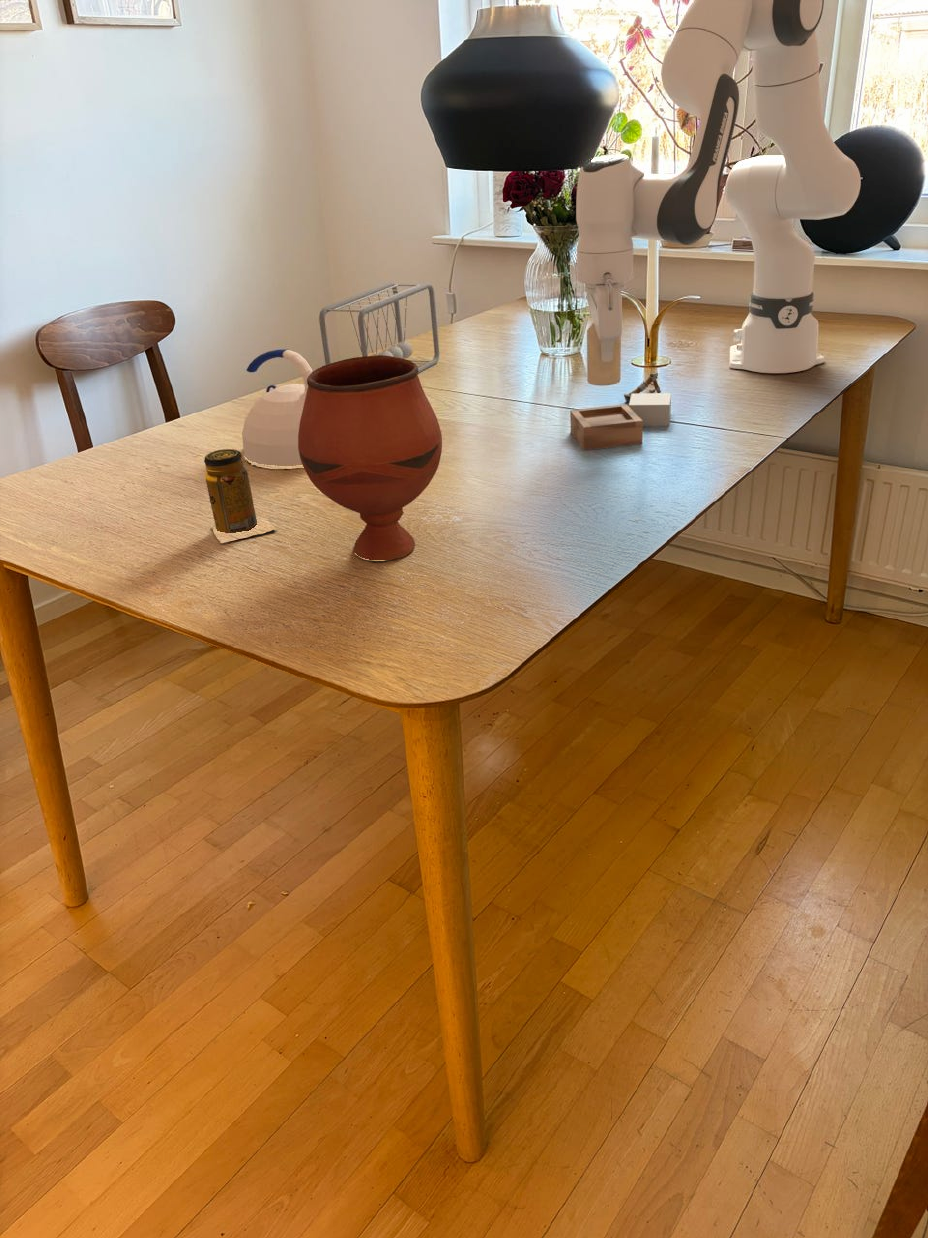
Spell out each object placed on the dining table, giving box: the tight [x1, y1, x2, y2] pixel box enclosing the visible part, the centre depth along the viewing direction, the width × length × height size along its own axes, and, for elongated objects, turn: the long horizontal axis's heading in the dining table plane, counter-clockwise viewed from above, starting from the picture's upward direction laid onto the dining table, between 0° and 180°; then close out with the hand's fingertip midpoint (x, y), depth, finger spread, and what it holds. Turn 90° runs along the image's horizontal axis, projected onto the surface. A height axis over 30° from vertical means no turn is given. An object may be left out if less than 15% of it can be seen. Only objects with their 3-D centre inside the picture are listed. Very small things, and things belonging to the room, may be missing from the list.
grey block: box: [628, 392, 672, 427], centre depth 176 cm, size 7×7×4 cm
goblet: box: [298, 354, 443, 561], centre depth 130 cm, size 19×19×25 cm
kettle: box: [241, 348, 314, 466], centre depth 172 cm, size 20×21×18 cm
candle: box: [586, 321, 622, 387], centre depth 162 cm, size 6×6×10 cm
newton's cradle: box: [318, 281, 440, 374], centre depth 210 cm, size 30×10×18 cm, turn 152°
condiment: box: [203, 448, 257, 533], centre depth 143 cm, size 7×8×12 cm
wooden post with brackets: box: [623, 372, 662, 403], centre depth 187 cm, size 2×8×4 cm, turn 121°
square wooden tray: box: [569, 403, 644, 451], centre depth 169 cm, size 10×10×4 cm
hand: (605, 355), depth 163 cm, fingers closed on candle, 5 cm apart
